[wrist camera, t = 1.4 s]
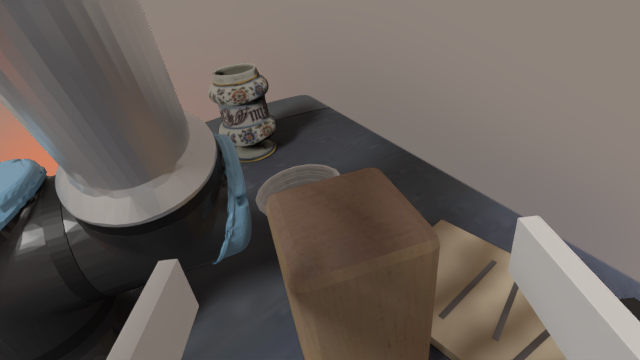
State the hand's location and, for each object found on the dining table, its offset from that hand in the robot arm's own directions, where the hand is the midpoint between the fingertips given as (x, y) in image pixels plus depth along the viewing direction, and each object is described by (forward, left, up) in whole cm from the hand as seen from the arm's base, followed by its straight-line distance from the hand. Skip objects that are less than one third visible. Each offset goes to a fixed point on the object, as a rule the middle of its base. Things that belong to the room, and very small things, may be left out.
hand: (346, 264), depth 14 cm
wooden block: (-7, +6, -25) cm, 27 cm away
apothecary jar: (-56, +23, -25) cm, 66 cm away
